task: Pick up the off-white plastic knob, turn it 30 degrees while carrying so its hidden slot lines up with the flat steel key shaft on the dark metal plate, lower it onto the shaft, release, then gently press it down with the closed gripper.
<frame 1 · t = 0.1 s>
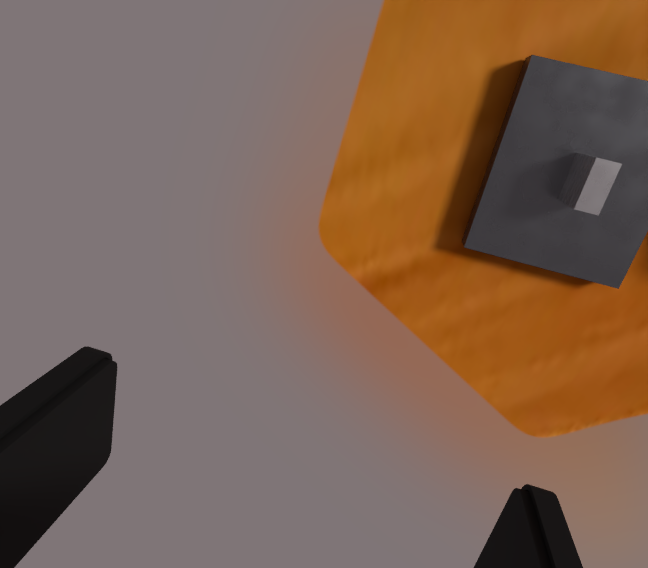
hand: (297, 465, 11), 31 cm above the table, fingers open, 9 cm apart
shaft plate: (569, 175, 36), on the table
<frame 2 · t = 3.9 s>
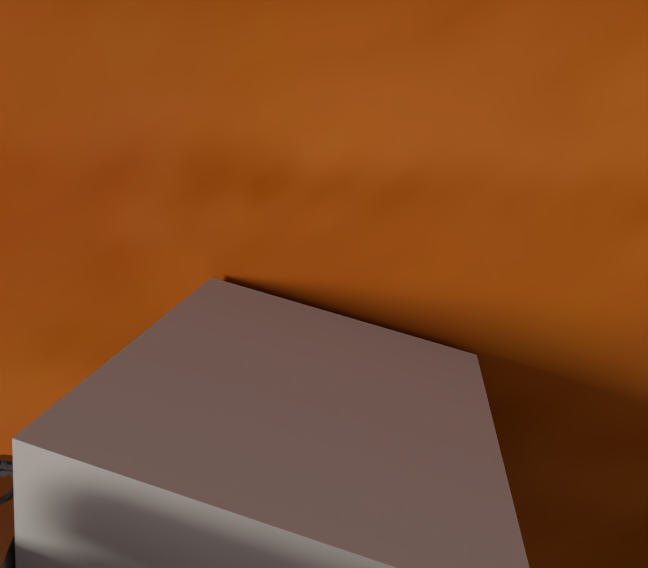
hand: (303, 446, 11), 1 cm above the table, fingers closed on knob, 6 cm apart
knob: (311, 424, 12), on the table, touching gripper
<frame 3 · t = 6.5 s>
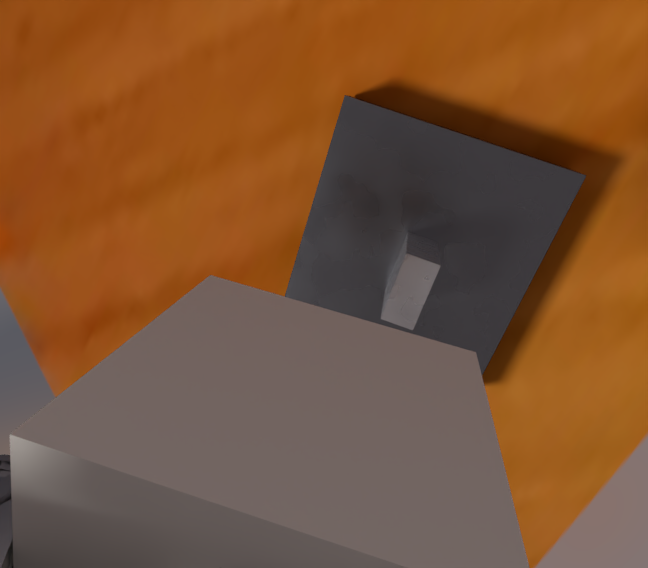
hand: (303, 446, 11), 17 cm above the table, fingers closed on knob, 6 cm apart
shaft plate: (411, 255, 27), on the table
knob: (310, 422, 12), point 16 cm above the table, touching gripper
when the fingers open (5 cm above the table, at t = 9.5 s): knob drops 2 cm, resting on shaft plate.
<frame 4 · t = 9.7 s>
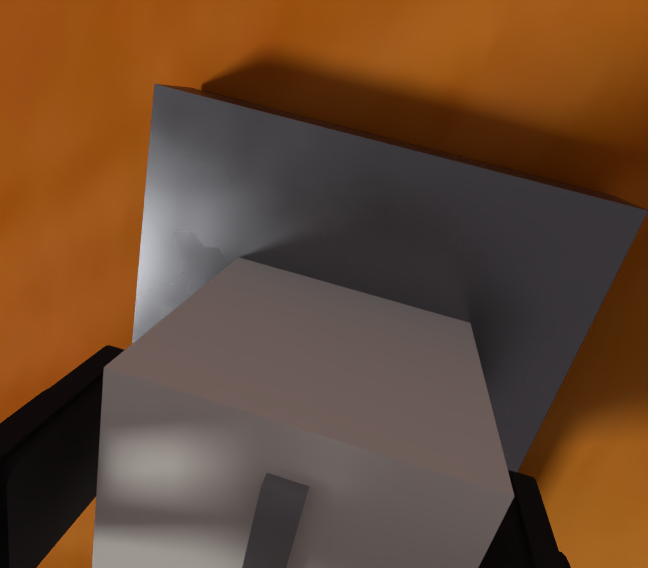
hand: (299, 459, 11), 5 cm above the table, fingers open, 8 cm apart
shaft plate: (334, 354, 16), on the table
knob: (325, 387, 14), point 2 cm above the table, touching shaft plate
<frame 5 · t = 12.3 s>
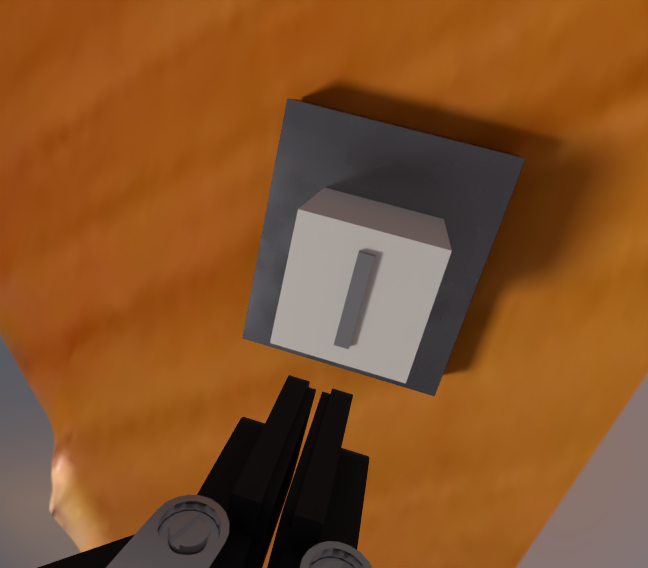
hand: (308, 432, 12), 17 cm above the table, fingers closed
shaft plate: (370, 249, 28), on the table
knob: (367, 259, 26), point 2 cm above the table, touching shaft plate
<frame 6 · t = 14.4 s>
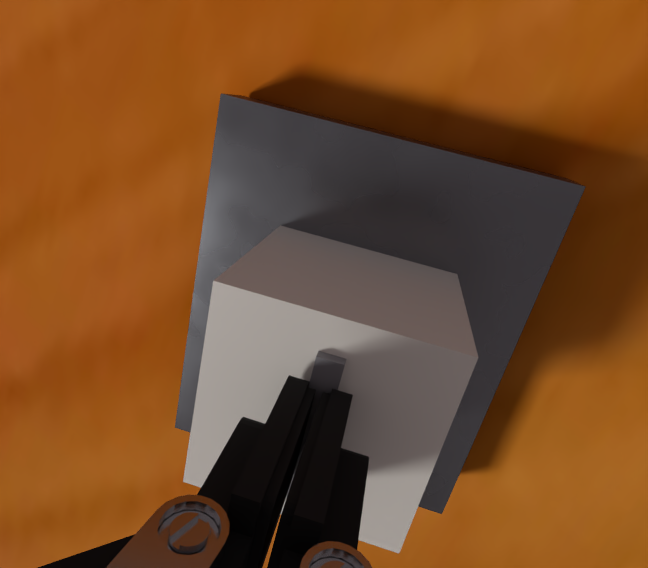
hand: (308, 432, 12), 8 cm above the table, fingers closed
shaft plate: (351, 307, 20), on the table
knob: (345, 328, 18), point 2 cm above the table, touching gripper, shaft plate
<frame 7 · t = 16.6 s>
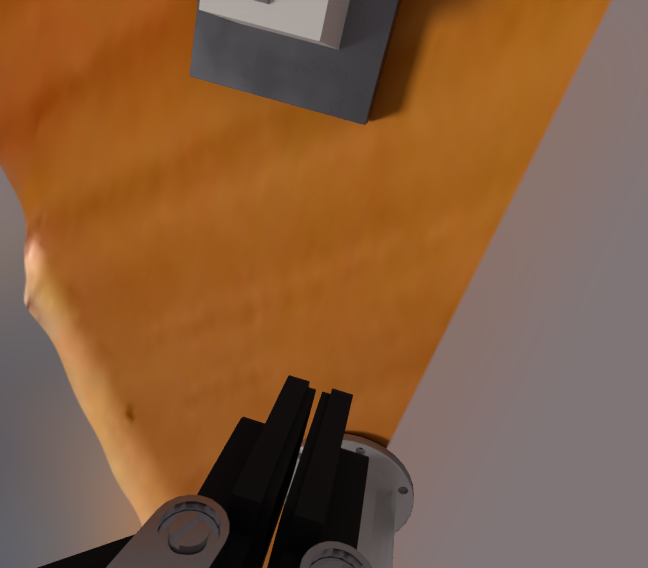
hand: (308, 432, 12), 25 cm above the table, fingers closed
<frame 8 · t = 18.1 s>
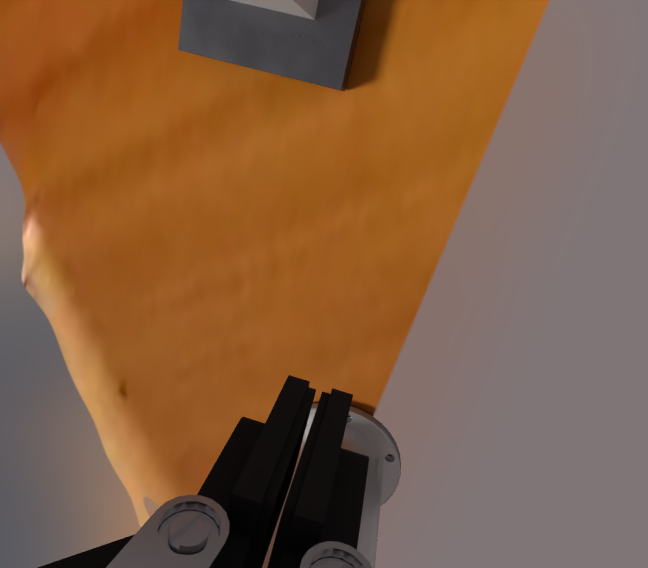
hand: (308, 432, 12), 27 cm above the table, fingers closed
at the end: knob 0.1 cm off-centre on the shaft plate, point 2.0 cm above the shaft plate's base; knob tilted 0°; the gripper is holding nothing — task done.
